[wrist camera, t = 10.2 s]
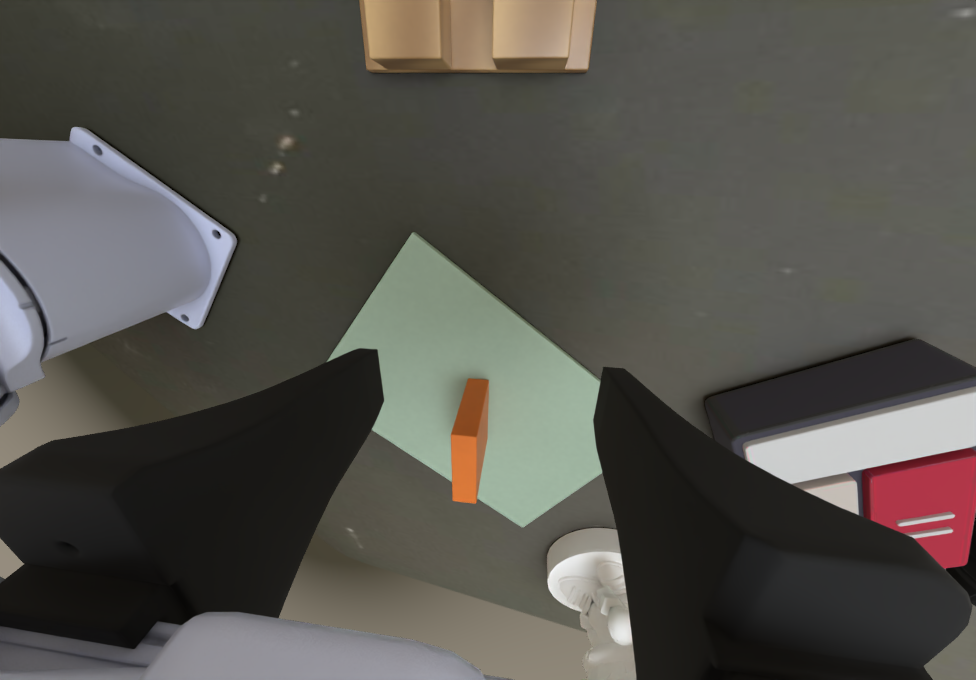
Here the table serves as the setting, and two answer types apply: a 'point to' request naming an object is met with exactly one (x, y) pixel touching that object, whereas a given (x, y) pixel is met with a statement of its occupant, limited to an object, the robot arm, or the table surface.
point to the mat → (477, 355)
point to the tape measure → (967, 570)
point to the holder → (477, 36)
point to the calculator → (870, 439)
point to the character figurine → (595, 598)
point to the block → (469, 441)
